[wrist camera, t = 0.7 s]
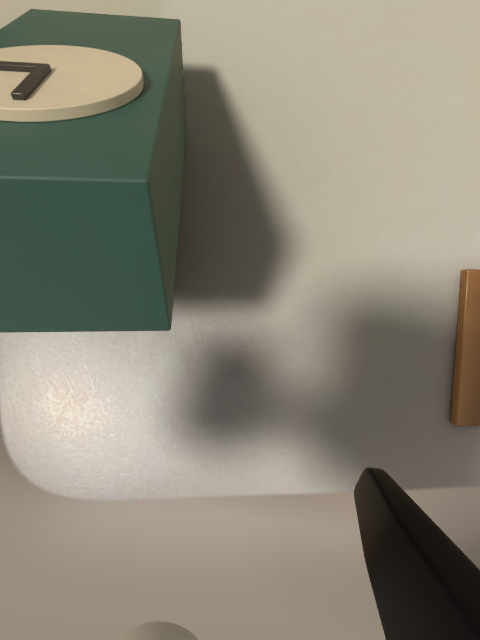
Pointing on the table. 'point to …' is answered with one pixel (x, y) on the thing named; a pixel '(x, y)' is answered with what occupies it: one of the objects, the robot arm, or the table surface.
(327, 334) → the table surface
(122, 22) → the clock
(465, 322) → the wooden board
